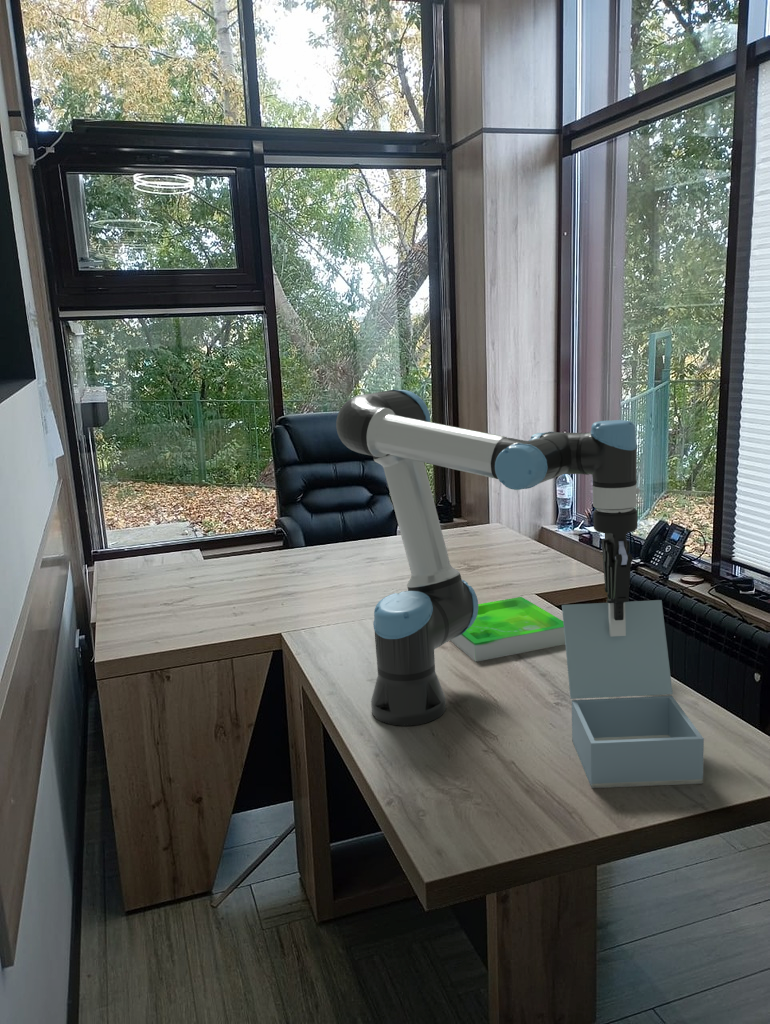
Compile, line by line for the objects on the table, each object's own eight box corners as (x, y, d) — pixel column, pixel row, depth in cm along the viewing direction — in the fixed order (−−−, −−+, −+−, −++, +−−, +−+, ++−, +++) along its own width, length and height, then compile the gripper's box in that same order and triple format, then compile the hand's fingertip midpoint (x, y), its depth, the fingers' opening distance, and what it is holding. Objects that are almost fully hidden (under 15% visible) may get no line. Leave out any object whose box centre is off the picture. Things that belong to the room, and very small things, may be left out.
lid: (562, 604, 150) (561, 605, 151) (571, 698, 147) (570, 698, 147) (661, 599, 149) (660, 600, 150) (672, 694, 146) (671, 694, 147)
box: (591, 788, 133) (591, 743, 131) (572, 740, 148) (571, 700, 147) (702, 783, 132) (703, 738, 130) (671, 736, 148) (672, 695, 146)
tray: (521, 614, 218) (521, 596, 217) (570, 645, 194) (570, 625, 193) (435, 629, 210) (434, 611, 209) (475, 663, 187) (474, 643, 186)
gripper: (646, 514, 137) (648, 646, 141) (627, 500, 149) (628, 622, 154) (602, 517, 137) (604, 648, 142) (586, 502, 150) (589, 624, 154)
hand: (617, 634), depth 148 cm, fingers closed
